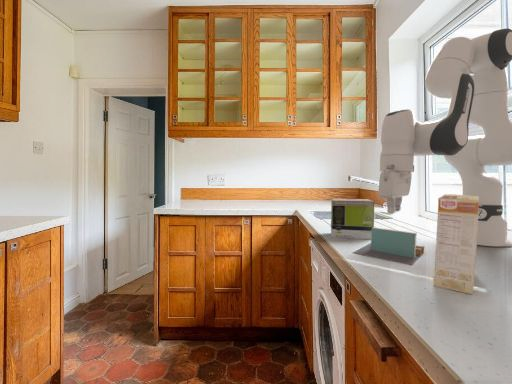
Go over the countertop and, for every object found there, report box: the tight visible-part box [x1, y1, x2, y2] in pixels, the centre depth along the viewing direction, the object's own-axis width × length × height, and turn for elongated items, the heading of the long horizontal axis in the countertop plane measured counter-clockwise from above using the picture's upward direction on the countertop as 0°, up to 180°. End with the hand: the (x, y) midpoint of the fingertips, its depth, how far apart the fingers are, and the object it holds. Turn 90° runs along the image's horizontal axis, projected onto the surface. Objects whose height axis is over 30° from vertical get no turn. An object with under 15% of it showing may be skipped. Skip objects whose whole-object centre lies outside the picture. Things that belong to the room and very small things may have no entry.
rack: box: [415, 244, 425, 257], centre depth 87 cm, size 5×14×2 cm, turn 49°
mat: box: [352, 242, 424, 266], centre depth 83 cm, size 17×16×1 cm
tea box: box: [330, 198, 375, 240], centre depth 106 cm, size 15×10×15 cm
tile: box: [370, 226, 417, 258], centre depth 82 cm, size 2×12×7 cm, turn 49°
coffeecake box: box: [433, 193, 479, 295], centre depth 63 cm, size 15×7×20 cm, turn 141°
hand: (393, 212), depth 82 cm, fingers open, 4 cm apart
